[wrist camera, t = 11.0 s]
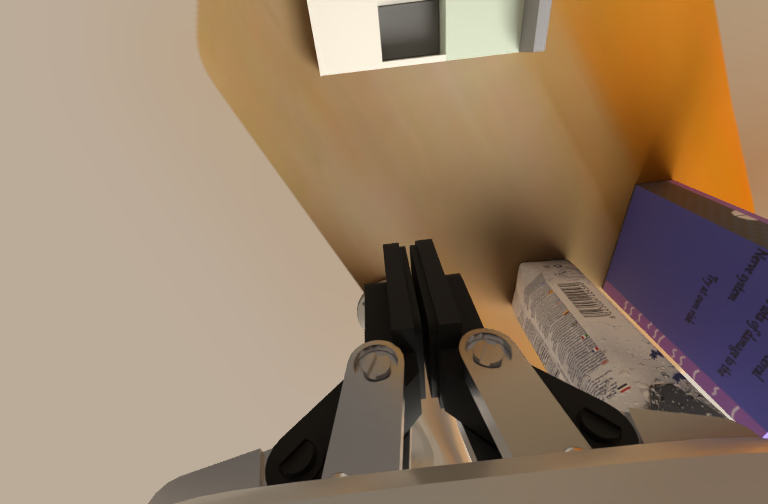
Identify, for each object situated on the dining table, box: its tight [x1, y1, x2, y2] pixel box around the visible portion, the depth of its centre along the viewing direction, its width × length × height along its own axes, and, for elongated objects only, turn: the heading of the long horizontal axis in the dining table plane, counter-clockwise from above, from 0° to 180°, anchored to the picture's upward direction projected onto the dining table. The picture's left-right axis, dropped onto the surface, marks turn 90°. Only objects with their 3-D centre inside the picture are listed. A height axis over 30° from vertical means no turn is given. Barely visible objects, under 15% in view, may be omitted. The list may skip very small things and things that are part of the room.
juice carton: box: [512, 259, 728, 419], centre depth 38 cm, size 9×10×27 cm
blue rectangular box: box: [602, 180, 768, 438], centre depth 36 cm, size 17×5×24 cm, turn 7°
